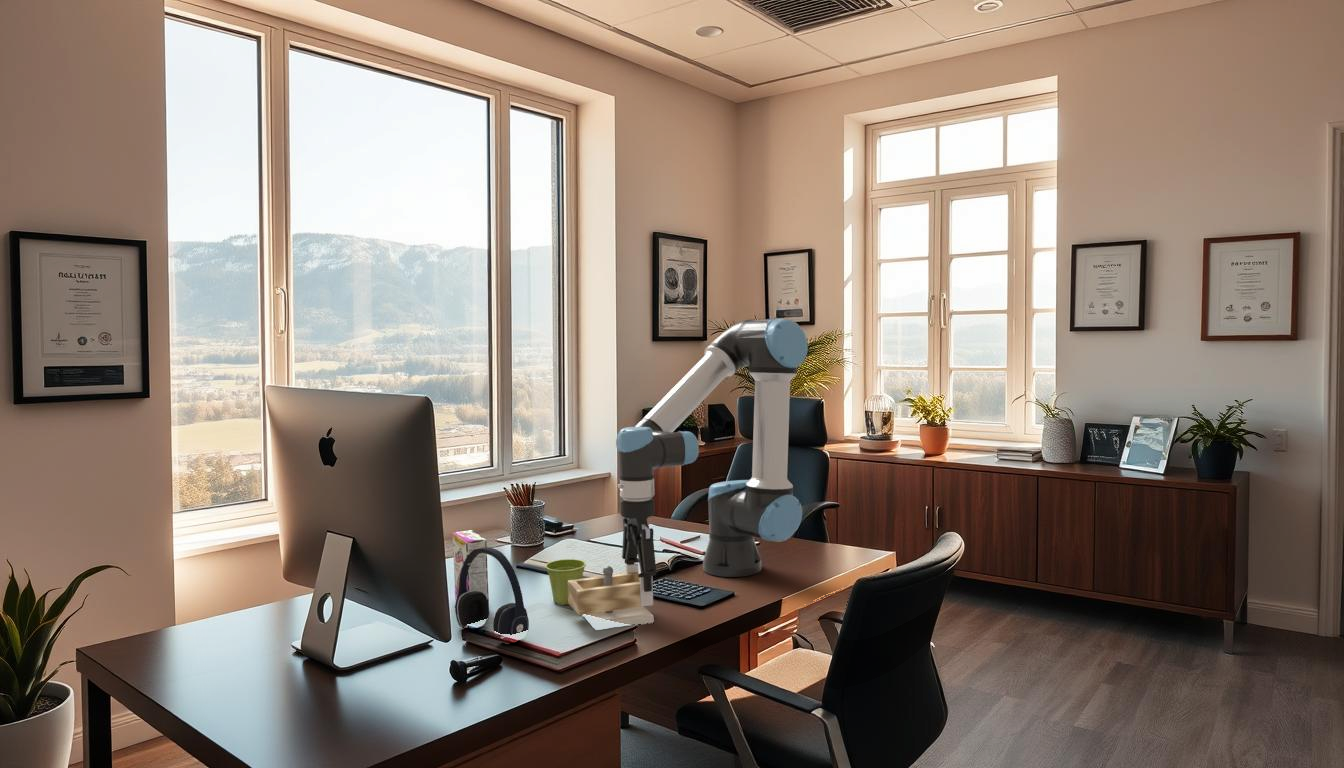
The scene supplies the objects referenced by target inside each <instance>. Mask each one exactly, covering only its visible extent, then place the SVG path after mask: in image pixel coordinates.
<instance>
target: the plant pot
mask: <svg viewBox="0 0 1344 768" xmlns="http://www.w3.org/2000/svg"><path fill="white" fill-rule="evenodd" d="M586 566H587V562H586V561H584V560H581V559H575V558H574V559H573V558H567V559H564V558H563V559H557V560H553V561H549V562H547V563H546V564H545V566H544V568H545V569H546V571H547V574H548V577H549V578H548V579H549V582H550V587H551V594H552V598H553V602H554V603H556V604H558V605H563V606H564V605H565V606H567V605H570V604H569V603H568V580H575V579H583V577H584V572H585V568H586Z"/></svg>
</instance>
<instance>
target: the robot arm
mask: <svg viewBox="0 0 1344 768" xmlns="http://www.w3.org/2000/svg"><path fill="white" fill-rule="evenodd" d="M808 348H809V347H808V340H807V335H806V334H805V332H804V330H803V329H802V328H801V326H800V325H799V324H798V323H797V322H795V321H794V320H792V319H787V318H763V319H754V318H753V319H752V318H751V319H750V318H749V319H744V320H741V321H739V322H737V323H735V324H733V325H731V326H729V327H728V328H726V330H724V331H723V332H722V333H720V334H719V335H718V336H717V337H715V339H714V340H713V341H711V343H710V344H709V345H708V346H707V347H706V348H705V349H704V352H703V353H704V356H703V357H702V358H701V359H700V360H699V361H698V362H697V363H696V364H695V365H694V366H693V367H692V368H690V370H689V371H688V372H687V373H686V374H685V375H684V376H683V377H682V378H681V379H680V380H679V381H678V382H677V383H676V384H675V385H674V386H673V387H672V388H671V389H669V392H667V393H666V395H664V396H663V398H662V399H660V401H659V402H657V403H656V405H655V406H654V407H653V408H652V409H651V410H649V412H648V413H647V414H646V415H645V416H644V417H643V418H642V419H641V420H640V421H639V422H638V423H637V424H635V426H629V427H628V426H626V427H624V428H622V429H620V431H619V432H618V434H617V436H616V439H615V447H616V449H617V452H618V468H619V469H618V470H619V471H618V472H619V474H618V475H619V484H617V488H618V489H619V496H620V497H621V499H620V500H619V507H620V510H619V511H620V516H621V517H622V521H623V522H622V523H623V525H622V527H623V531H622V532H623V533H622V535H623V536H622V552H621V558H622V559H623V560H624V563H625V573H633V572H638V573H639V569H640V573H639V575H638V577H640V606H641V607H642V606H643V607H649V606H654V588H653V587H654V583H653V582H654V581H653V579H654V578H653V576H657V573H658V572H657V565H656V556H655V555H656V554H655V553H656V552H655V545H654V532H655V531H654V528H653V527H651V528H650V525H649V524H648V523H649V522H648V518H651V517H653V516H654V515H655V499H654V498H653V497H654V496H655V475H654V474H655V470H656V469H660V468H668V467H678V466H682V467H684V465H688V464H692V463H694V462H695V461H697V459H698V457H699V454H700V453H699V452H700V450H699V449H700V447H699V445H700V443H699V441H698V439H697V437H696V435H695V434H694V433H693V432H691V431H688V430H687V431H686V430H684V431H681V430H678V431H676V429H677V428H678V427H679V426H681V424H682V423H683V422H684V421H685V420H686V419H687V418H688V417H689V416H690V415H691V414H692V413H693V412H694V410H695V409H697V407H698V406H700V404H701V403H702V402H703V401H704V400H705V399H706V398H707V397H708V396H709V395H710V394H711V393H712V392H713V390H715V389H716V388H717V386H718V385H719V384H721V382H722V381H723V380H724V379H725V378H727V377H732V376H734V375H735V373H736V372H737V371H739V370H740V369H743V368H744V367H749V368H748V370H749V371H748V374H749V375H750V376H751V377H752V378H753V380H754V405H753V435H752V436H753V437H752V438H753V439H752V466H751V467H752V468H751V472H752V473H751V478H750V479H738V480H727V481H720V482H716V483H713V484H711V485H710V486H709V487H708V497H707V501H708V502H707V503H708V504H707V505H708V507H707V508H708V527H709V529H708V532H709V533H708V535H709V538H708V543H707V547H706V550H705V553H704V556H703V559H702V569H703V570H702V571H704V573H706V574H709V575H711V576H718V577H724V578H725V577H726V578H741V577H748V576H752V575H756V574H758V573H760V572H762V559H761V556H760V553H759V549H758V547H757V544H756V542H755V538H759V539H762V540H764V541H766V542H767V541H768V542H770V541H771V542H776V543H777V542H778V543H780V542H784V541H787V540H789V539H790V538H791V537H792V536H793V535H794V533H795V532H797V530H798V528H799V526H800V525H801V521H802V518H803V506H802V504H801V502H800V501H799V499H798V498H797V497H796V496H794V495H793V494H794V485H793V484H792V483H791V482H790V480H789V479H788V464H789V463H788V462H789V461H788V458H789V434H790V433H789V429H790V428H789V426H790V398H791V395H790V394H791V393H790V392H791V381H792V379H794V378H795V377H796V376H797V374H798V367H799V366H800V365H802V364H803V362H805V361H804V360H805V359H806V358H807V355H808ZM675 431H676V432H675Z"/></svg>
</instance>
